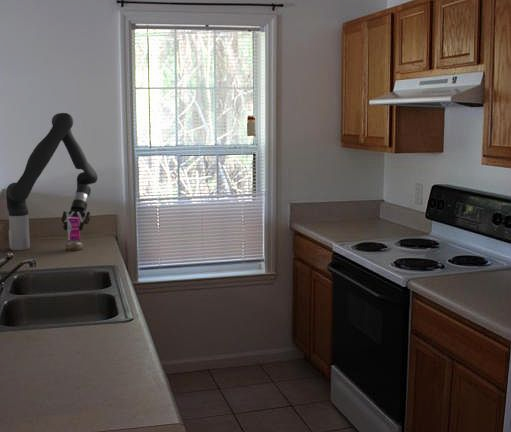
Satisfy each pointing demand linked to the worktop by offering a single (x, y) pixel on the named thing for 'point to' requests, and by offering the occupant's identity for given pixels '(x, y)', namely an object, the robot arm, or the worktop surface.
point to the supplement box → (73, 228)
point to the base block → (74, 246)
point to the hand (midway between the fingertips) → (72, 229)
